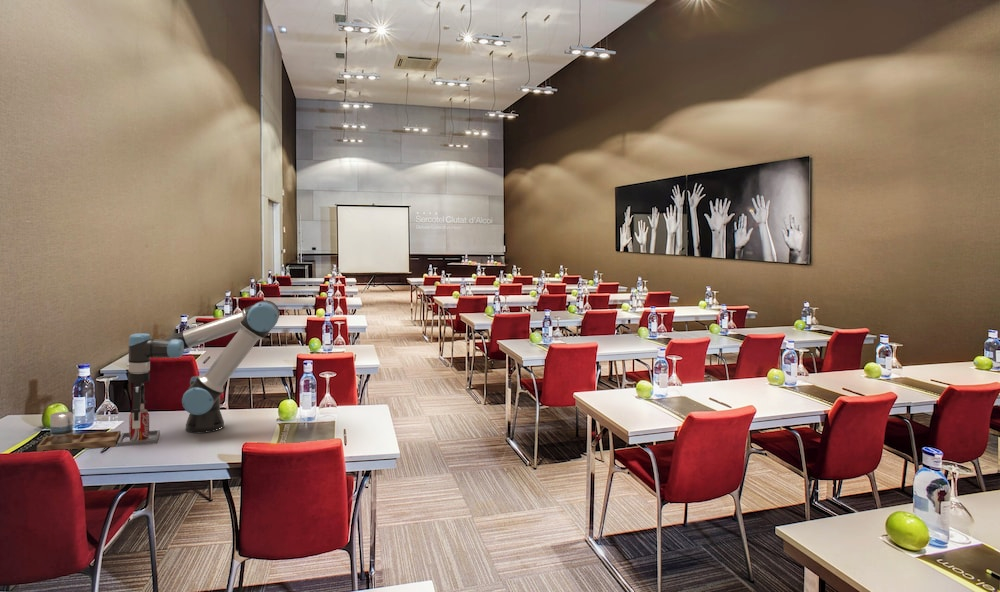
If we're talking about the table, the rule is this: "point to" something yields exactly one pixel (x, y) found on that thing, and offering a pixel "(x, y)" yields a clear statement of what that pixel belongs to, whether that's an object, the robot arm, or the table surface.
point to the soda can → (143, 431)
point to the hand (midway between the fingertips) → (138, 423)
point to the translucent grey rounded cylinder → (61, 428)
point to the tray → (138, 440)
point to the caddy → (83, 441)
